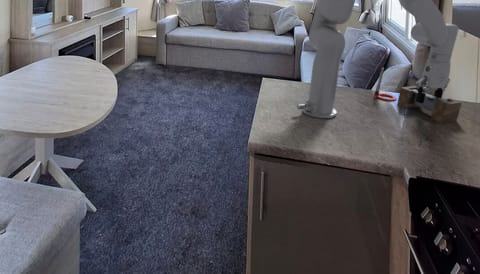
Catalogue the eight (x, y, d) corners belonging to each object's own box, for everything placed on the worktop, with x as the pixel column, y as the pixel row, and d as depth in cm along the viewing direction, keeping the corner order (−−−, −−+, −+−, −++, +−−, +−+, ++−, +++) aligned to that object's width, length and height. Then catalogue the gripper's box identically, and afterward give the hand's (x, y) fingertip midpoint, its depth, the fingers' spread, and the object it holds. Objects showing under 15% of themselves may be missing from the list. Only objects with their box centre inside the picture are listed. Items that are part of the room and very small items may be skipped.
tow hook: (396, 98, 173) (375, 93, 176) (404, 70, 167) (382, 65, 171) (394, 103, 166) (372, 98, 169) (402, 74, 160) (379, 69, 164)
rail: (446, 114, 148) (450, 102, 146) (441, 115, 147) (444, 102, 145) (412, 101, 162) (415, 89, 160) (407, 101, 161) (410, 90, 159)
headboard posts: (456, 121, 148) (462, 102, 145) (441, 123, 145) (447, 104, 142) (410, 102, 166) (415, 85, 163) (397, 104, 163) (400, 87, 160)
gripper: (431, 61, 140) (420, 106, 147) (463, 58, 147) (451, 102, 154) (414, 56, 146) (404, 100, 153) (446, 54, 153) (435, 96, 160)
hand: (428, 101), depth 154 cm, fingers open, 9 cm apart
